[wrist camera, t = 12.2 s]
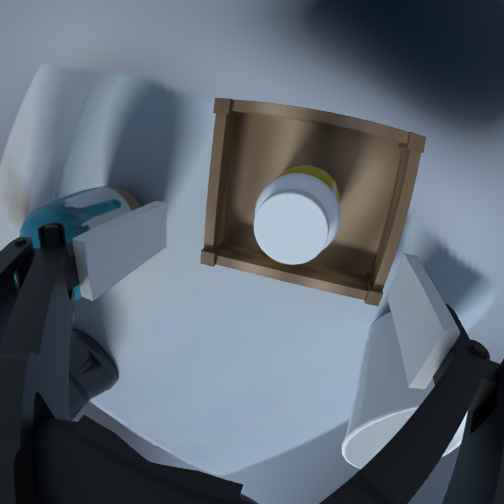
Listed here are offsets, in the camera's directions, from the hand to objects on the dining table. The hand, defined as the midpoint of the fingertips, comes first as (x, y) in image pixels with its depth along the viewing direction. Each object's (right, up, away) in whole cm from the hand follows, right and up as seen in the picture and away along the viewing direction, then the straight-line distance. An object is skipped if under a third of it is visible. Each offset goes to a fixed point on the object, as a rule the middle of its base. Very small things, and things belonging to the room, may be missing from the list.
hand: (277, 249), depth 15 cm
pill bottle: (+4, +5, +12) cm, 14 cm away
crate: (+4, +6, +13) cm, 15 cm away
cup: (+16, -10, +16) cm, 25 cm away
